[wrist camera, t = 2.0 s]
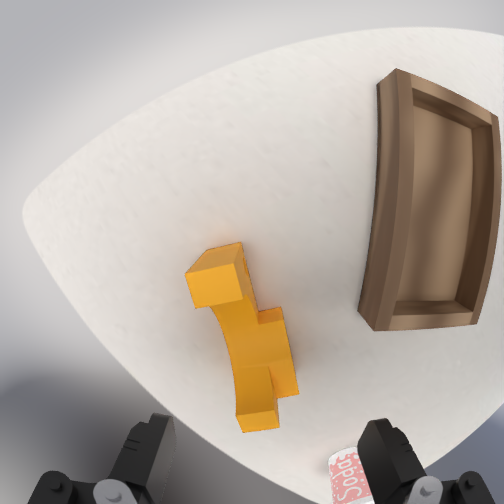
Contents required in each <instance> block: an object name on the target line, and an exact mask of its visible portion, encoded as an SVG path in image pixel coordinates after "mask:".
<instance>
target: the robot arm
mask: <svg viewBox="0 0 504 504" xmlns="http://www.w3.org/2000/svg"><path fill="white" fill-rule="evenodd" d="M175 447H176V434H175V429H174V423H173V417H172V416H168V415H163V414H158V413H153V414H152V416H151V418H150V420H149V423H144V422H139V423H138V424H137V425H135V426H134V427H133V428H132V429H131V430H130V433H129V435H128V437H127V440H126V441H125V443H124V445H123V448H122V450H121V452H120V454H119V456H118V458H117V460H116V463H115V465H114V467H113V469H112V471H111V473H110V475H109V476H108V478H106V479H105V480H103V481H100V482H99V483H84V482H78V481H72V480H70V479H69V478H68V477H67V476H66V475H65V474H63V473H61V472H59V471H48V472H46V473H44V474H43V475H42V476H41V478H40V480H39V482H38V484H37V486H36V487H35V489H34V491H33V493H32V496H31V497H30V499H29V502H28V504H160V503H161V499H162V495H163V492H164V488H165V484H166V481H167V477H168V474H169V470H170V466H171V463H172V459H173V456H174V452H175ZM357 452H358V456H359V459H360V461H361V464H362V467H363V470H364V473H365V476H366V479H367V482H368V485H369V488H370V491H371V494H372V497H373V500H374V503H375V504H495V502H494V500H493V498H492V496H491V494H490V492H489V490H488V488H487V486H486V484H485V483H484V481H483V479H482V477H481V476H480V475H479V474H478V473H477V472H474V471H468V472H465V473H464V474H463V475H461V476H460V477H459V479H457V480H450V481H442V482H441V481H440V480H438V479H437V478H435V477H432V476H427V475H426V473H425V471H424V469H423V467H422V465H421V463H420V461H419V460H418V458H417V456H416V454H415V452H414V451H413V448H412V446H411V445H410V444H409V441H408V439H407V437H406V435H405V434H404V433H403V432H402V431H401V430H399V429H398V428H397V427H395V428H393V427H392V425H391V423H390V422H389V420H388V419H387V418H384V419H378V420H371V421H369V422H368V424H367V426H366V428H365V430H364V432H363V434H362V436H361V438H360V439H359V441H358V445H357Z"/></svg>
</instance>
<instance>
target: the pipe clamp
mask: <svg viewBox="0 0 504 504" xmlns="http://www.w3.org/2000/svg"><path fill="white" fill-rule="evenodd" d="M185 277H186V280H187V284H188V287H189V290H190V293H191V296H192V300H193V303H194V306H195V309H197V308H202V307H207V306H209V307H210V308H211V309H212V311H213V312H214V314H215V315H216V317H217V319H218V321H219V324H220V326H221V329H222V331H223V334H224V337H225V340H226V344H227V347H228V351H229V355H230V360H231V365H232V370H233V376H234V383H235V394H236V418H237V420H238V423H239V425H240V427H241V430H242V432H243V433H245V432H253V431H261V430H268V429H274V428H280V427H279V415H278V403H277V399H278V398H283V397H288V396H293V395H298V394H299V390H298V385H297V380H296V375H295V370H294V365H293V360H292V356H291V351H290V346H289V341H288V337H287V332H286V327H285V323H284V318H283V314H282V309H281V307H278V308H273V309H269V310H264V311H258V308H257V304H256V300H255V296H254V292H253V288H252V284H251V280H250V276H249V272H248V268H247V264H246V260H245V256H244V252H243V248H242V244H241V242H238V243H234V244H230V245H226V246H221V247H217V248H213V249H209V250H206V251H205V252H204V253H203V254H202V256H201V257H200V258H199V259H198V260H197V261H196V262H195V263H194V264H193V265H192V267H191V268H190V269H189V270H188V271H187V272H186V273H185Z"/></svg>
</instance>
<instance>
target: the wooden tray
mask: <svg viewBox="0 0 504 504" xmlns="http://www.w3.org/2000/svg"><path fill="white" fill-rule="evenodd" d="M377 105H378V148H377V172H376V187H375V200H374V210H373V220H372V228H371V236H370V244H369V251H368V257H367V264H366V270H365V275H364V281H363V286H362V292H361V297H360V302H359V306H358V312H359V313H360V315H361V316H362V317H363V318H364V320H365V321H366V322H367V323H368V325H369V326H370V327H371V328H372V330H373V331H398V330H417V329H432V328H445V327H456V326H465V325H474V324H477V322H478V319H479V316H480V313H481V309H482V306H483V302H484V299H485V295H486V291H487V287H488V283H489V279H490V275H491V270H492V265H493V260H494V254H495V248H496V242H497V235H498V227H499V217H500V205H501V182H502V165H501V143H500V131H499V121H498V117H497V116H496V115H494V114H492V113H491V112H489V111H488V110H486V109H484V108H482V107H481V106H479V105H477V104H476V103H474V102H472V101H470V100H468V99H466V98H464V97H463V96H461V95H459V94H457V93H455V92H453V91H451V90H448V89H446V88H444V87H442V86H440V85H438V84H435V83H433V82H431V81H428V80H426V79H423V78H421V77H418V76H416V75H413V74H411V73H408V72H405V71H402V70H400V69H397V68H396V69H394V70H393V71H392V72H391V73H390V74H389V75H387V76H386V77H385V78H384V79H383V80H382V81H380V82H379V83H378V84H377Z"/></svg>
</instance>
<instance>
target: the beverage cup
mask: <svg viewBox="0 0 504 504" xmlns="http://www.w3.org/2000/svg"><path fill="white" fill-rule="evenodd" d="M328 465H329V473H330V480H331V488H332V496H333V504H375V503H374V500H373V497H372V494H371V491H370V488H369V485H368V482H367V479H366V476H365V473H364V470H363V467H362V464H361V461H360V459H359V456H358V452H357V447H351V448H346V449H343V450H341V451H338V452H336V453H335V454H333V455H332V456H331V457H330V458H329V460H328Z"/></svg>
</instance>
